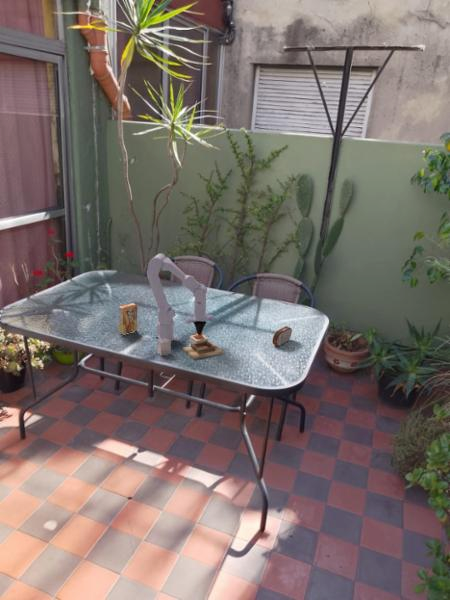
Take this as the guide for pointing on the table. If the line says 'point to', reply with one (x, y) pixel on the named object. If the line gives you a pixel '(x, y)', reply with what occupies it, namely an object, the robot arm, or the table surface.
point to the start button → (198, 336)
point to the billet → (164, 346)
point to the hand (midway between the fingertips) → (199, 334)
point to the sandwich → (282, 336)
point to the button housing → (193, 340)
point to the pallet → (202, 350)
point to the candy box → (128, 318)
